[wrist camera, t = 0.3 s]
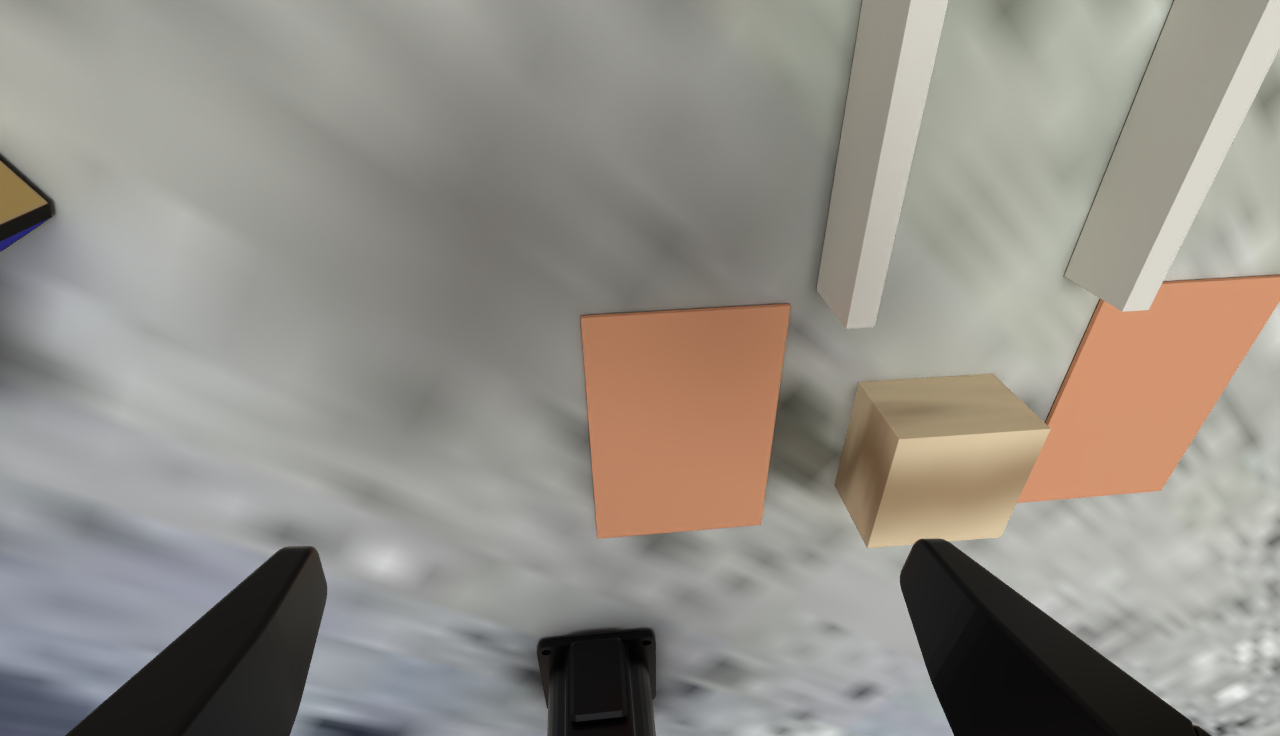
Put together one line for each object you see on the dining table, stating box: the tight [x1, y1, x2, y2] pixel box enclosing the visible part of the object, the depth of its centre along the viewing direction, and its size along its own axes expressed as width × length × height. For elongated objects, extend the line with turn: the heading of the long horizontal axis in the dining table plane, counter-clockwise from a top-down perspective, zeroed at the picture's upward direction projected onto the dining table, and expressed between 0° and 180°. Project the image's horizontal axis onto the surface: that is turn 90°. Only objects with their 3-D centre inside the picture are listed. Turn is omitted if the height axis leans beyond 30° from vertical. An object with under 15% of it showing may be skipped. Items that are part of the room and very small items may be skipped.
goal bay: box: [816, 0, 1280, 329], centre depth 19 cm, size 12×11×3 cm
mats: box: [581, 275, 1280, 539], centre depth 27 cm, size 12×29×1 cm, turn 91°
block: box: [835, 374, 1051, 548], centre depth 26 cm, size 6×6×4 cm
